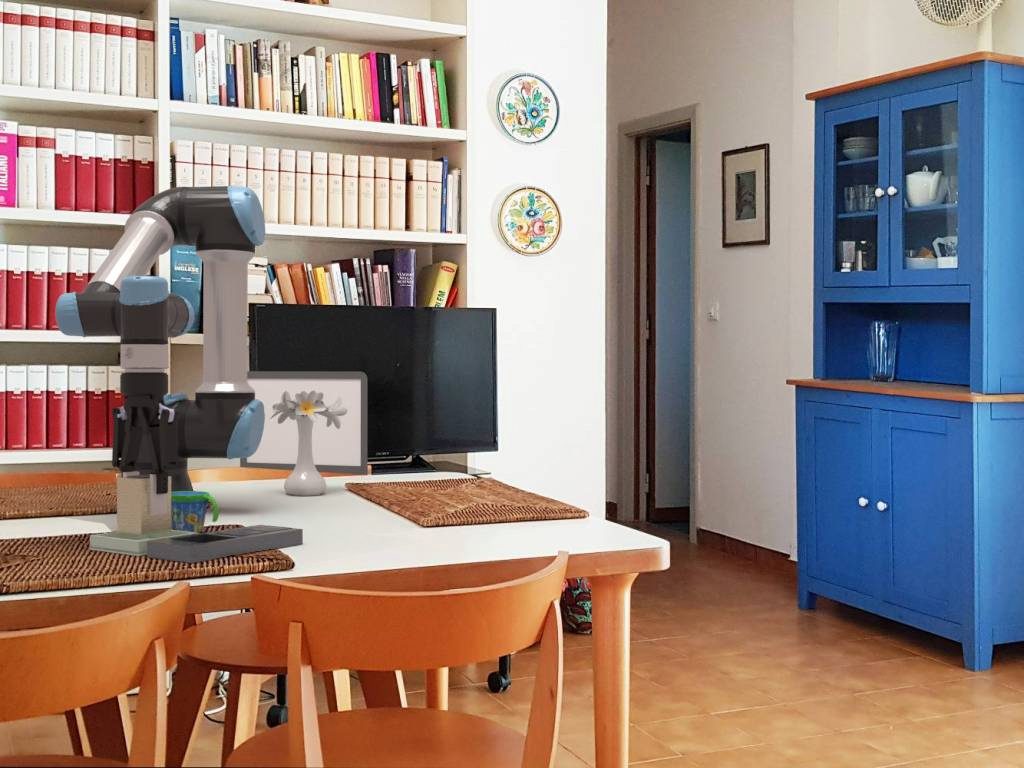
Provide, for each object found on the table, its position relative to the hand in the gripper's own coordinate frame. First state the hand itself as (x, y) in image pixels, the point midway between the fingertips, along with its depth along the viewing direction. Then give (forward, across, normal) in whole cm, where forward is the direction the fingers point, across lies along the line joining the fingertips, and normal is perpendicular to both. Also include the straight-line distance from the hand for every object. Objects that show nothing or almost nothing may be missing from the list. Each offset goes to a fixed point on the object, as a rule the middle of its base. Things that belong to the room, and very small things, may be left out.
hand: (144, 512), depth 192 cm
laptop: (+6, -57, +87) cm, 104 cm away
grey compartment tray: (+6, +13, +6) cm, 15 cm away
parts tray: (+6, 0, 0) cm, 6 cm away
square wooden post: (+3, 0, 0) cm, 3 cm away
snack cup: (+6, -7, +15) cm, 18 cm away
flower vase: (+6, -28, +68) cm, 74 cm away
